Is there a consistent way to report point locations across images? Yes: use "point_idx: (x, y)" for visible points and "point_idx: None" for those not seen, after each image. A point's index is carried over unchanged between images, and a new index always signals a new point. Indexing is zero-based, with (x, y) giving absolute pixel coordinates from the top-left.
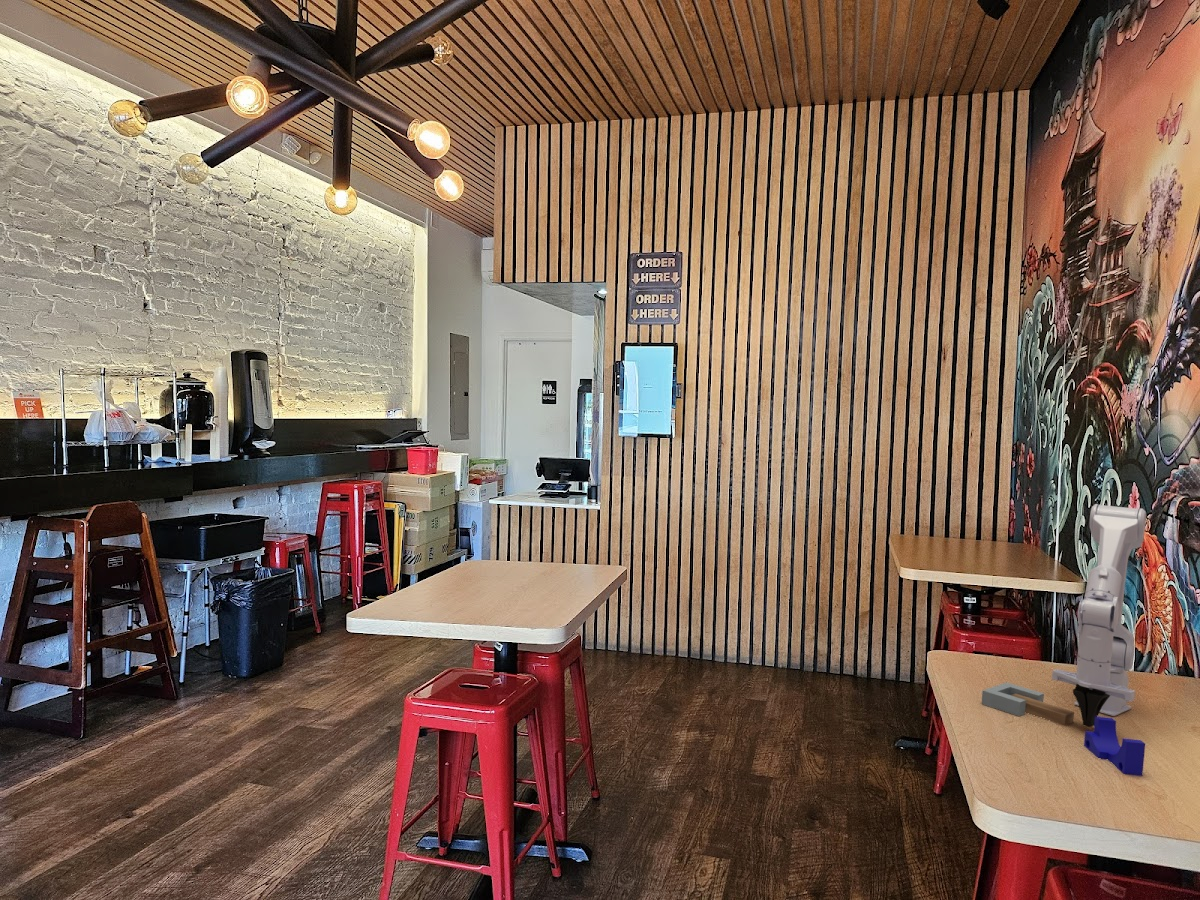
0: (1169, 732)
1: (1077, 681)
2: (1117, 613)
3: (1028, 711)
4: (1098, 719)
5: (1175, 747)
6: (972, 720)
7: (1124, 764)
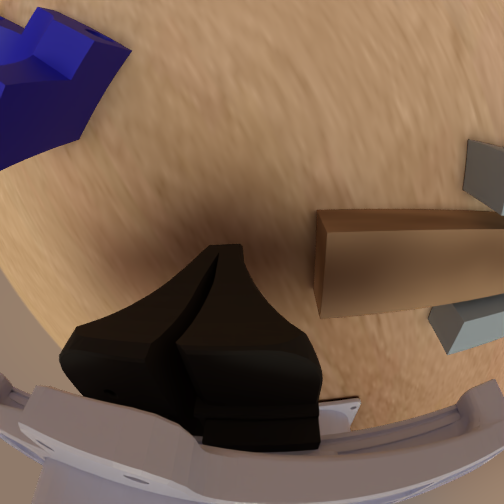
0: None
1: (267, 481)
2: None
3: (461, 214)
4: None
5: (67, 336)
6: None
7: None
